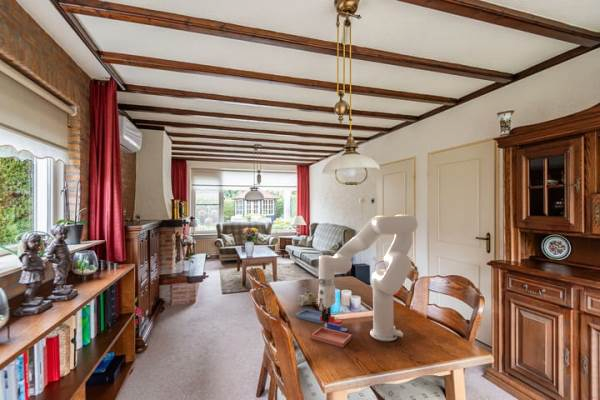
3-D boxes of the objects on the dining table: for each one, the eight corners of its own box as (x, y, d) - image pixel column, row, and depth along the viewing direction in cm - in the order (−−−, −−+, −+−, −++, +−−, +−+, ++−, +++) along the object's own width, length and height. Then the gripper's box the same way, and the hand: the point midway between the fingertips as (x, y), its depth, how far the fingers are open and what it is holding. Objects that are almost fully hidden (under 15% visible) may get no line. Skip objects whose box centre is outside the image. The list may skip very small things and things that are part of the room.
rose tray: (351, 338, 133) (351, 334, 133) (343, 347, 124) (343, 343, 124) (321, 330, 141) (321, 326, 142) (311, 338, 133) (311, 334, 133)
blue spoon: (325, 329, 143) (325, 323, 143) (329, 326, 147) (329, 321, 147) (345, 334, 138) (345, 328, 138) (348, 331, 141) (348, 325, 141)
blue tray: (330, 317, 159) (330, 313, 159) (321, 323, 150) (321, 320, 150) (305, 311, 167) (305, 308, 167) (296, 317, 159) (296, 314, 159)
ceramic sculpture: (295, 289, 182) (316, 288, 187) (294, 303, 181) (315, 301, 187) (301, 294, 172) (323, 293, 177) (300, 309, 172) (322, 307, 177)
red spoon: (319, 322, 134) (318, 316, 134) (323, 319, 137) (322, 314, 138) (340, 325, 128) (339, 319, 129) (343, 322, 132) (343, 316, 132)
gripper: (326, 286, 126) (325, 328, 126) (340, 279, 140) (340, 316, 139) (311, 284, 130) (311, 324, 130) (326, 277, 144) (326, 313, 143)
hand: (326, 320), depth 134 cm, fingers closed on red spoon, 1 cm apart
